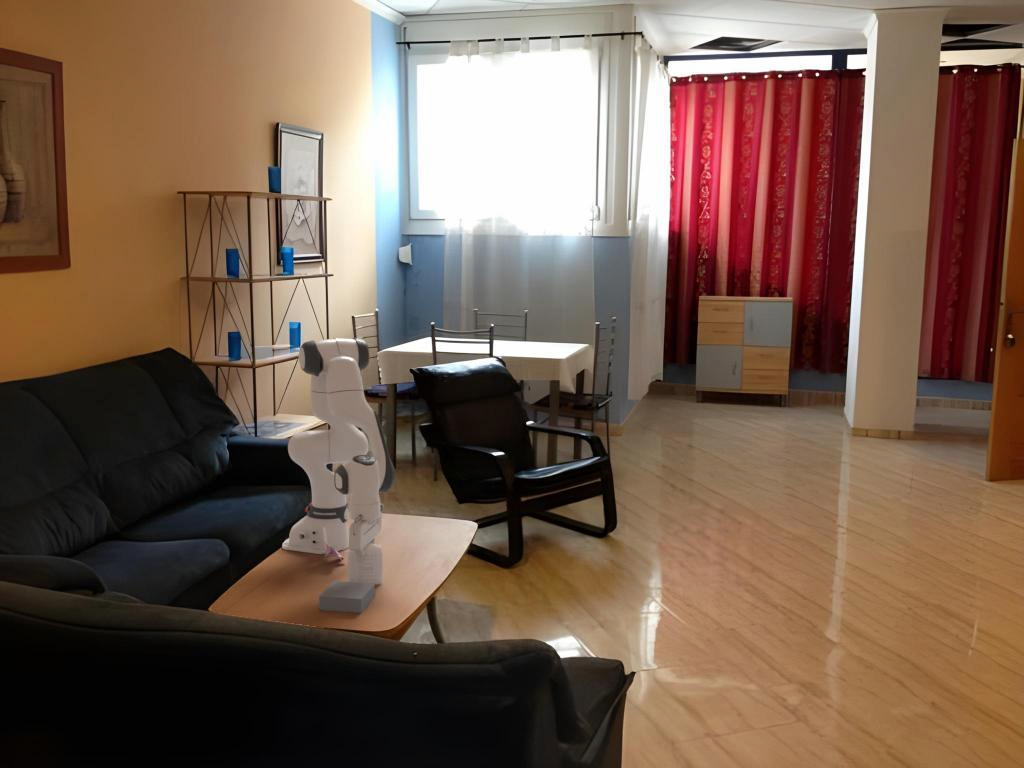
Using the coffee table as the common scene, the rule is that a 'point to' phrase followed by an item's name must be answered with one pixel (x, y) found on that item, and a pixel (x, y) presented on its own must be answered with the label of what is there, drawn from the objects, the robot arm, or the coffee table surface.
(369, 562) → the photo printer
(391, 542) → the coffee table surface
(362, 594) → the slate block
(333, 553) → the lily
